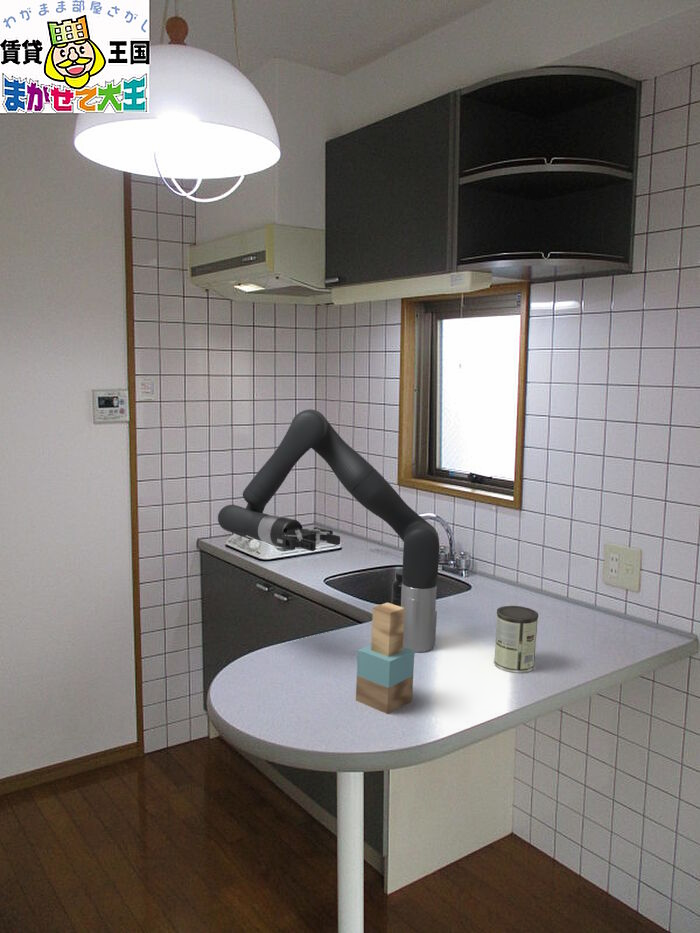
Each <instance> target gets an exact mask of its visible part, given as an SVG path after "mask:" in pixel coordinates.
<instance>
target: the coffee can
mask: <svg viewBox="0 0 700 933" xmlns="http://www.w3.org/2000/svg"><path fill="white" fill-rule="evenodd" d="M538 618H539V613H538V611H536V610H534V609H532V608H529V607H524V606H521V605H520V606H518V605H505V606H504V605H503V606H500V607H498V608H497V609H496V628H495V644H494V659H493V664H495V665H494V667H496V668H498V669H500V670H501V669H502V671H505V672H509V673H513V674H514V673H515V674H516V673H517V674H525V673H526V674H527V673H530V672H532V671H533V670H534V669H535V658H536V648H537V647H536V645H537V635H538V634H537V631H538Z"/></svg>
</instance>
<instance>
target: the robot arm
mask: <svg viewBox="0 0 700 933" xmlns="http://www.w3.org/2000/svg"><path fill="white" fill-rule="evenodd" d="M311 449H312V450H313V451H314V452H316V453H317V454H318V456H320V458H322V459H323V460H324V461H325V462H326V463H327V465H328V466H329V467H330V469H331V470H332V472H333V473H334V475H335V477H336V478H337V479H338V481H339V482H340V483H341V484H342V486H343V488H344V489H345V490H346V491H347V492H348V493H349V494H350V495H351V496H352V497H353V498H354V499H355V500H356V501H357V502H358V503H359V504H360V505H362V507H364V508H365V509H366V510H367V511H369V512H371V513H372V514H374V515H376V516H377V517H378V518H380V519H382V520H383V521H384V522H385V523H387V524H388V525H389V527H390V528H391V529H393V531H394V532H395V533H396V534H397V535H398V536H399V538H400V540H401V541H403V549H402V550H403V551H402V570H401V571H402V592H401V607H403V608H405V615H404V635H403V647H406V648H409V649H412V650H414V653H424V652H425V653H426V652H429V651H431V650H433V649H434V646H435V645H436V637H437V636H436V635H437V634H436V632H437V616H438V615H437V614H438V611H437V610H436V609H437V608H436V607H437V606H436V605H437V586H438V576H439V562H440V557H439V556H440V538H439V533H438V531H437V529H436V528H435V527H434V526H433V525H432V524H431V523H430V522H428V521H427V520H426V519H424V518H423V517H422V516H421V515H420V514H418V513H417V512H416V511H415V510H413V508H411V506H409V505H408V504H407V503H406V502H405V501H404V500H403V498H402V497H401V496H400V495H399V493H398V492H397V491H396V490H395V489H394V487H393V486H392V485H391V484H390V482H388V480H386V479H385V477H384V476H383V475H382V474H381V473H380V472H379V471H378V470H377V469H376V468H375V467H374V466H372V464H371V463H369V462H368V460H366V459H365V458H364V457H363V456H362V455H361V454H360V453H358V451H356V450H355V449H354V448H352V447H351V446H350V445H349V444H348V443H347V442H346V441H345V440H344V439H343V438H342V437H341V436H340V435H339V434H338V432H337V430H335V429H334V427H333V426H332V424H330V422H329V421H328V420H327V418H326V417H325V416H324V414H323V413H322V412H320V411H318V410H316V409H311V408H310V409H305V410H302V411H300V412H298V413H297V414H295V416H294V417H293V418H292V420H291V423H290V425H289V427H288V429H287V431H286V433H285V435H284V437H283V438H282V440H281V442H280V443H279V445H278V447H277V448H276V450H275V451H274V452H273V454H272V455H271V456H270V457H269V458H268V459H267V461H266V462H265V463H264V464H263V466H262V467H261V468H260V469H259V470H258V472H256V474H255V475H254V477H253V478H252V479H251V481H250V482H249V483H248V485H247V486H246V487H245V489H244V490H243V492H242V497H243V500H244V501H245V502H246V503H247V504H246V507H242V506H239V505H236V504H228V505H225V506H223V507H222V508H221V509H220V511H219V512H218V513H217V522H218V525H219V526H220V527H221V528H222V529H223V530H225V531H227V532H229V533H232V534H234V535H237V536H239V537H249V538H251V539H254V540H257V541H259V542H265V543H266V544H268V545H272V546H275V547H277V548H278V547H279V548H282V549H286V550H291V551H294V550H296V549H298V550H303V549H304V550H307V551H311V552H315V551H316V547H317V546H316V545H319V544H320V543H326V544H330V545H334V546H340V544H341V536H340V535H336V534H334V533H333V530H331V529H327V528H326V529H325V528H322V527H317V526H314V527H313V528H309V527H303V525H302V523H301V522H300V521H298V520H297V519H293V518H289V517H284V516H279V515H275V514H272V515H271V514H268V513H264V512H265V511H264V510H265V507H266V506H267V504H269V502H270V500H271V499H272V498H273V497H274V495H275V494H276V493H277V492H278V490H279V489H280V487H281V486H282V485H283V483H284V482H285V480H286V479H287V477H288V475H289V474H290V472H291V470H292V469H293V468H294V466H296V464H297V463H298V462H299V460H300V459H301V458H302V457H303V456H304V455H305V454H306V453H307V452H309V451H310V450H311ZM315 539H316V540H315Z"/></svg>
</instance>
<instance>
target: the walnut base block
mask: <svg viewBox="0 0 700 933" xmlns="http://www.w3.org/2000/svg"><path fill="white" fill-rule="evenodd" d="M355 683H356V684H355V685H356V691H355V702H358V703H360V704H363V705H364V706H365V705H366V706H367V707H370V708H372V709H374V710H377V711H379V712H382V713H384V714H386V715H387V714H390V713H391V712H394V711H395V710H397V709H399V708H401V707H403V706H406V705H407V704H409V703H411V702H413V688H414V687H413V686H414V675H413V676H412V677H410V678H408V679H406V680H404V681H402V682H400V683H398V684H396V685H394V686H392V687H390V688H387V687H385V686H382V685H380V684H377V683H374V682H372V681H369V680H367V679H364V678H362V677H359V676H357V675H356V682H355Z"/></svg>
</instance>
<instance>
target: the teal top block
mask: <svg viewBox="0 0 700 933" xmlns="http://www.w3.org/2000/svg"><path fill="white" fill-rule="evenodd" d="M414 665H415V652H414V650H412V649H409V648H406V647H403V651H401V652H399V653H397V654H394V655H392V656H389V657H387V656H385V655H382V654H379V653H377V652H374V651H371V644H369V645H366V646H365V647H362V648H360V649H358V650H357V666H356V677H357V676H359V677H362V678H364V679H367V680H369V681H372V682H374V683H377V684H380V685H382V686H385V687H387V688H390V687H392V686H394V685H396V684H398V683H400V682H402V681H404V680H406V679H408V678H410V677H412V676H413V677H414V669H415V668H414Z"/></svg>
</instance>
